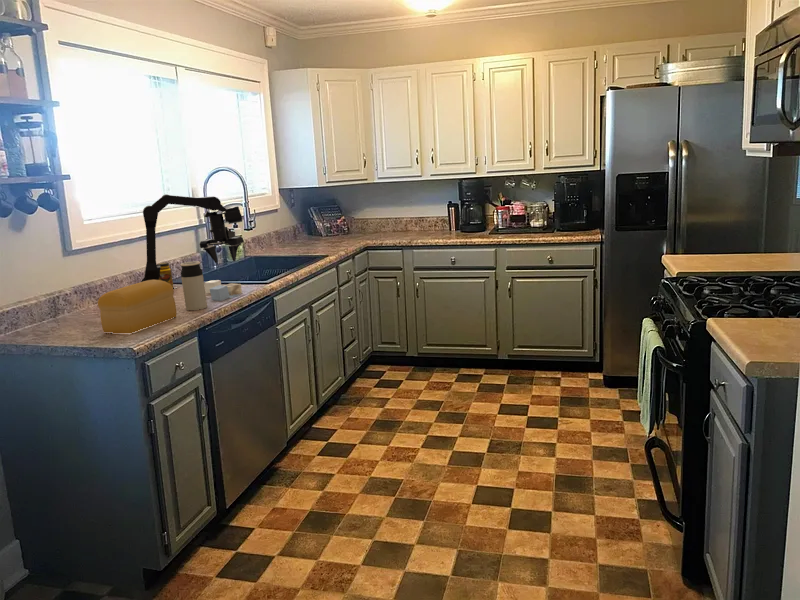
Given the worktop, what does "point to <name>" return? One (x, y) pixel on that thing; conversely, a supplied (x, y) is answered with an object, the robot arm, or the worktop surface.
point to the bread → (137, 306)
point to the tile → (233, 296)
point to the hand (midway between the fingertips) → (225, 261)
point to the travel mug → (193, 286)
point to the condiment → (166, 273)
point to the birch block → (234, 289)
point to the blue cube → (219, 293)
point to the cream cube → (211, 285)
